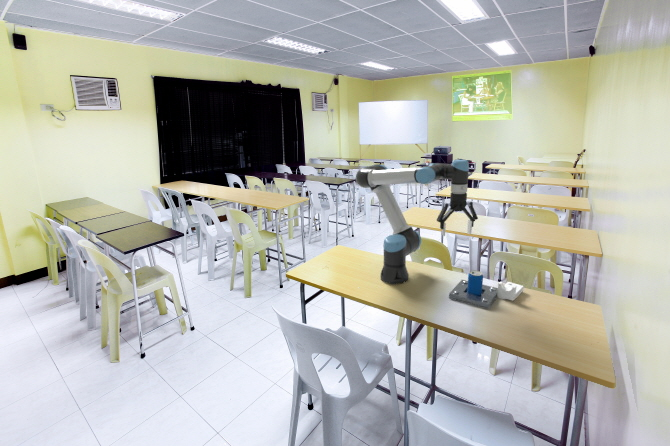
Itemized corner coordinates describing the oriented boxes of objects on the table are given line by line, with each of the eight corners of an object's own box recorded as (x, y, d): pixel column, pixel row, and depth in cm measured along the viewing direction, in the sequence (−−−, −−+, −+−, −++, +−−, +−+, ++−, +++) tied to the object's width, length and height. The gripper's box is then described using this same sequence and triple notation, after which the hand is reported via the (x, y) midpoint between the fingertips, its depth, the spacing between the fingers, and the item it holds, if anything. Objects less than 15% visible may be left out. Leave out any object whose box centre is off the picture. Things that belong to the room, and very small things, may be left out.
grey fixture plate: (448, 298, 163) (449, 292, 162) (461, 283, 176) (462, 278, 176) (488, 309, 152) (489, 303, 151) (499, 293, 166) (499, 287, 165)
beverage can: (470, 291, 169) (472, 268, 165) (483, 295, 164) (485, 272, 161) (464, 296, 164) (466, 273, 161) (477, 300, 160) (479, 277, 157)
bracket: (512, 302, 157) (514, 287, 155) (497, 297, 162) (498, 283, 160) (522, 292, 166) (524, 278, 164) (507, 288, 171) (509, 274, 169)
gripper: (437, 195, 160) (435, 238, 166) (487, 192, 162) (483, 234, 168) (430, 192, 167) (429, 233, 173) (479, 189, 170) (476, 230, 175)
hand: (456, 234), depth 171 cm, fingers open, 13 cm apart
